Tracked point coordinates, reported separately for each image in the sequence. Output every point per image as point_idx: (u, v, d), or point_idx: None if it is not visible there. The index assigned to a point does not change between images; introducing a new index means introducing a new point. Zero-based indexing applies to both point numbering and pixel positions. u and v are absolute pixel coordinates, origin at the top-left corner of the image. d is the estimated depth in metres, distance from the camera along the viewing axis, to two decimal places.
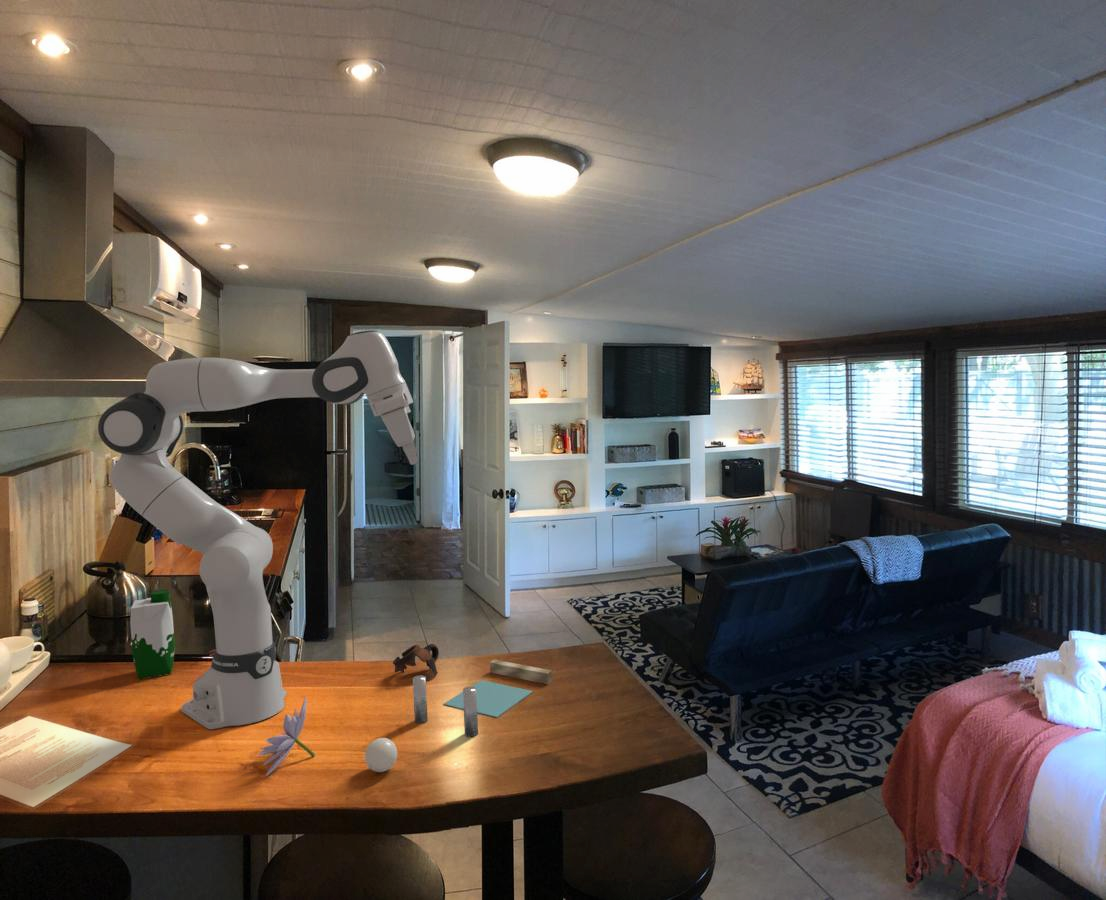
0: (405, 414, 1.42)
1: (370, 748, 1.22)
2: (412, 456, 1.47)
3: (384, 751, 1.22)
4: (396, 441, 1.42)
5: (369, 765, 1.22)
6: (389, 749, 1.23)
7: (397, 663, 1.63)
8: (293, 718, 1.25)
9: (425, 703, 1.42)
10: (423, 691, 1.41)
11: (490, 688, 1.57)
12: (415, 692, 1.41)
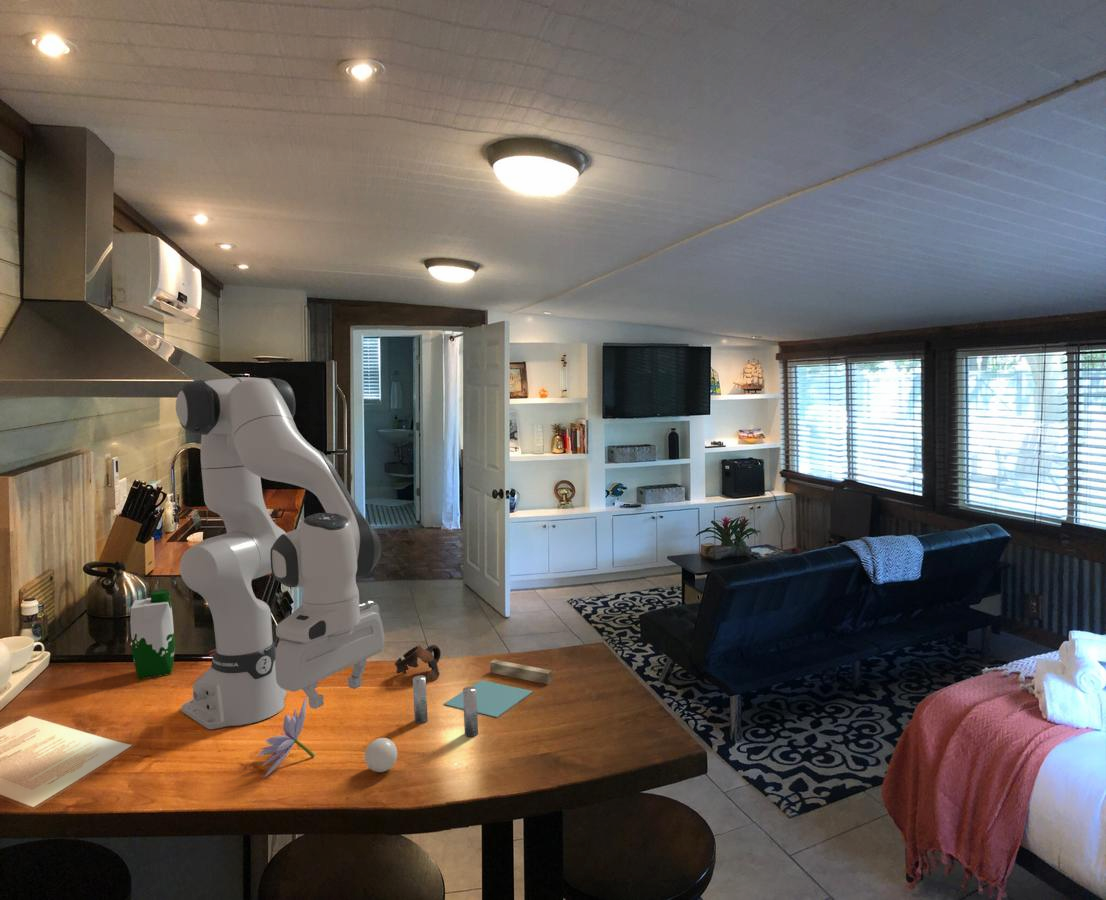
0: (295, 655, 1.05)
1: (370, 748, 1.22)
2: (312, 698, 1.10)
3: (384, 751, 1.22)
4: (277, 682, 1.06)
5: (369, 765, 1.22)
6: (389, 749, 1.23)
7: (399, 664, 1.62)
8: (292, 719, 1.25)
9: (425, 703, 1.42)
10: (423, 691, 1.41)
11: (490, 688, 1.57)
12: (415, 692, 1.41)
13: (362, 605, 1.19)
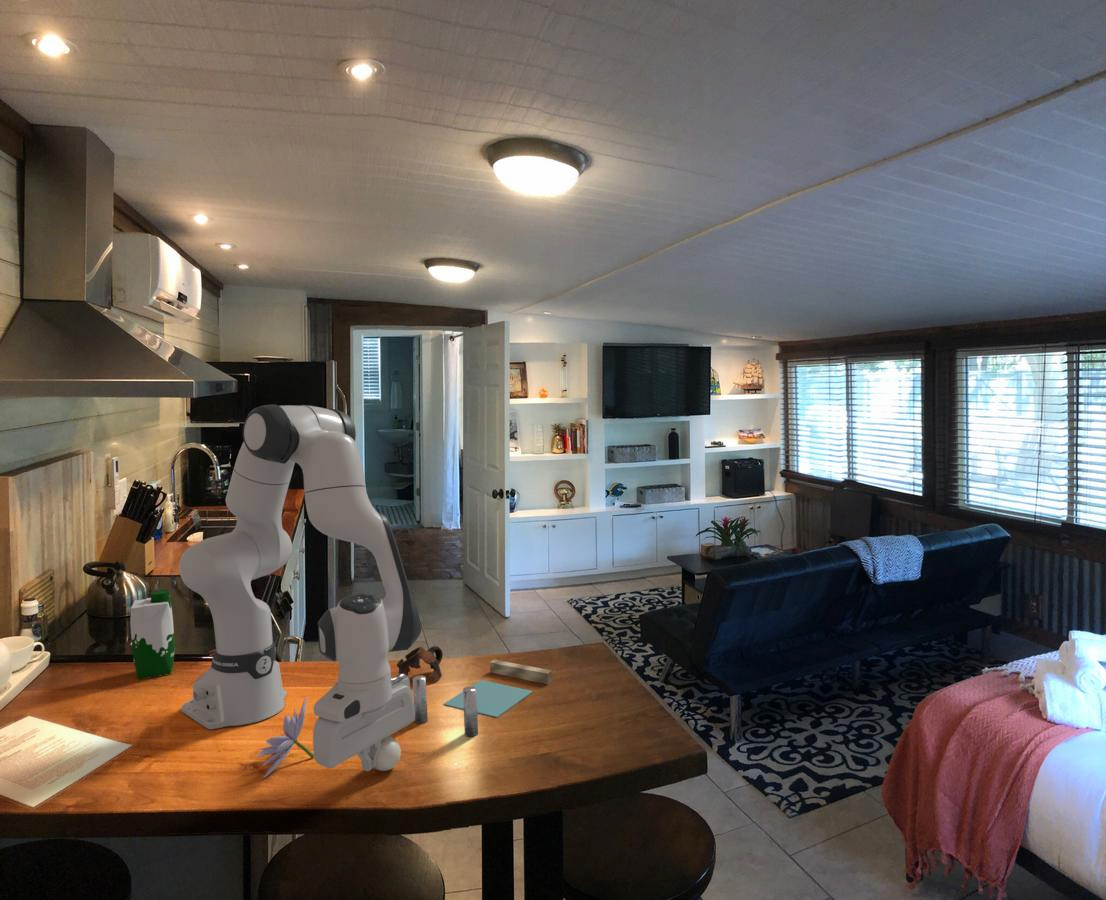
0: (331, 734, 1.12)
1: None
2: (365, 761, 1.20)
3: (390, 748, 1.23)
4: (314, 758, 1.13)
5: None
6: (395, 747, 1.23)
7: (401, 666, 1.61)
8: (292, 719, 1.25)
9: (425, 703, 1.42)
10: (423, 691, 1.41)
11: (490, 688, 1.57)
12: (415, 692, 1.41)
13: (394, 679, 1.26)
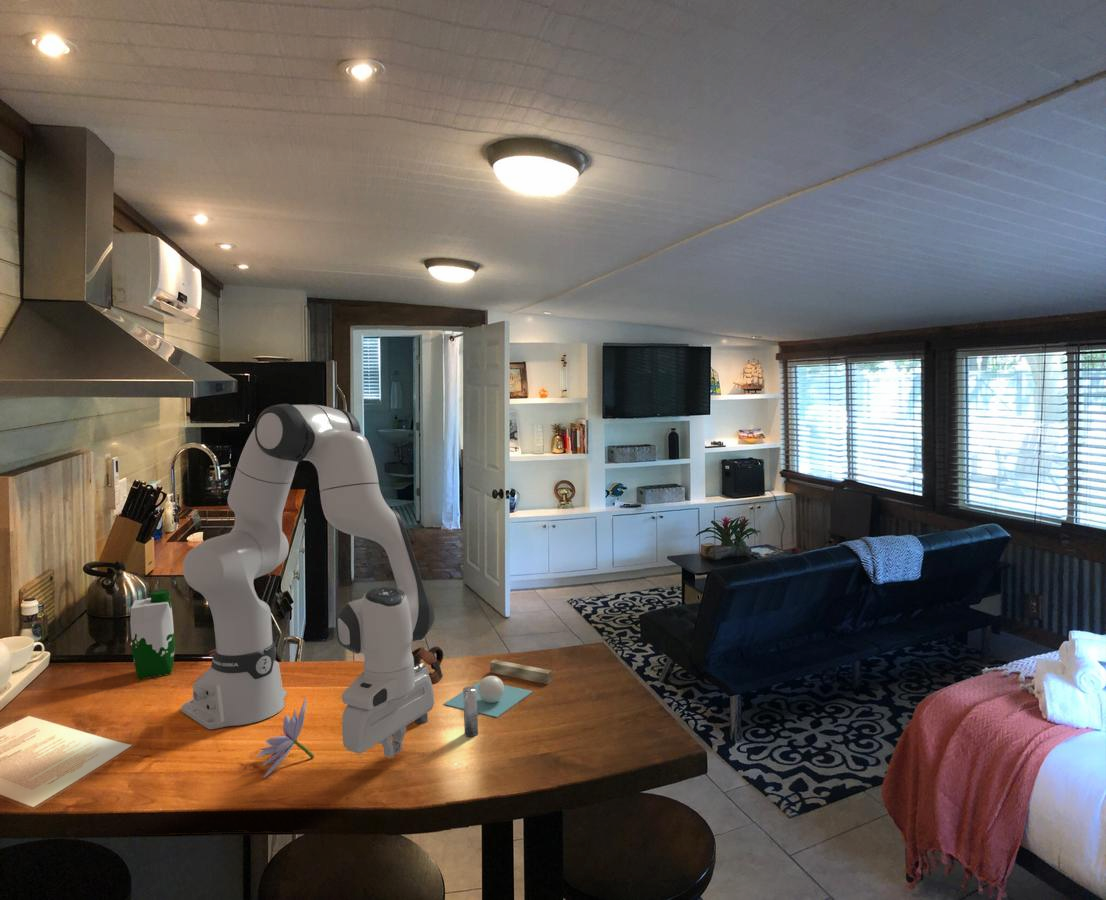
0: (361, 721, 1.17)
1: None
2: (387, 748, 1.25)
3: (495, 698, 1.48)
4: (344, 744, 1.18)
5: None
6: (495, 694, 1.48)
7: None
8: (292, 719, 1.25)
9: None
10: None
11: None
12: None
13: (415, 669, 1.31)
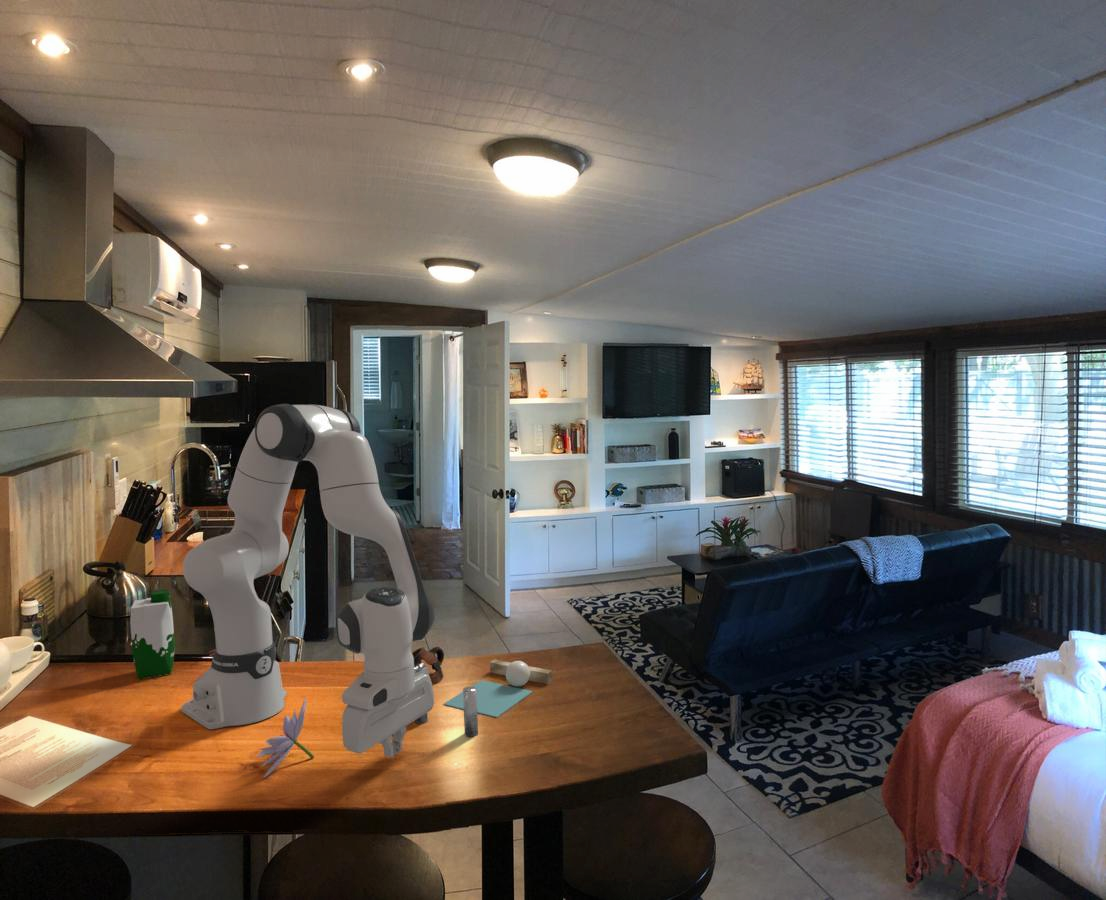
0: (361, 721, 1.17)
1: None
2: (387, 748, 1.25)
3: None
4: (344, 744, 1.18)
5: (518, 661, 1.59)
6: (529, 676, 1.59)
7: None
8: (292, 719, 1.25)
9: None
10: None
11: (490, 688, 1.57)
12: None
13: (415, 669, 1.31)
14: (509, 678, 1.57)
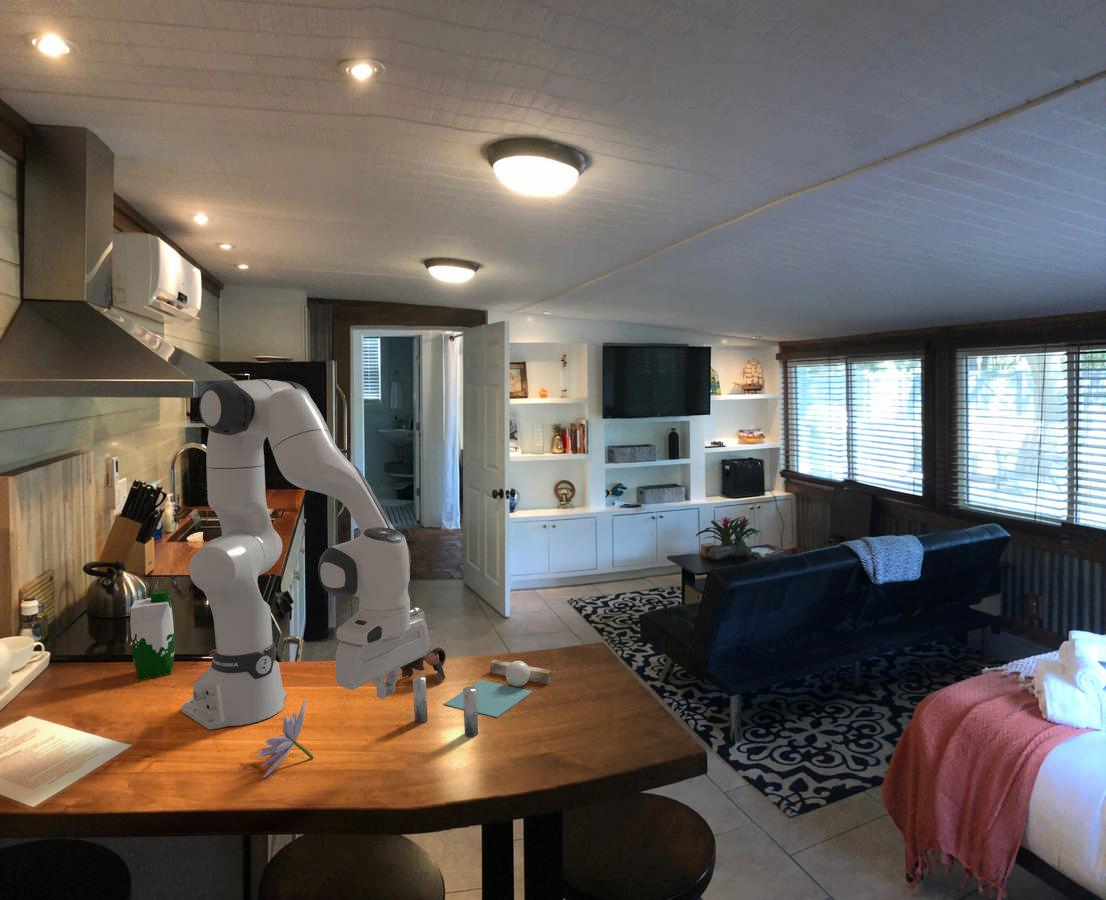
0: (354, 657, 1.16)
1: None
2: (380, 689, 1.24)
3: None
4: (336, 680, 1.17)
5: (518, 661, 1.59)
6: (529, 676, 1.59)
7: (405, 668, 1.60)
8: (291, 720, 1.25)
9: (425, 703, 1.42)
10: (423, 691, 1.41)
11: (490, 688, 1.57)
12: (415, 692, 1.41)
13: (411, 612, 1.30)
14: (509, 678, 1.57)
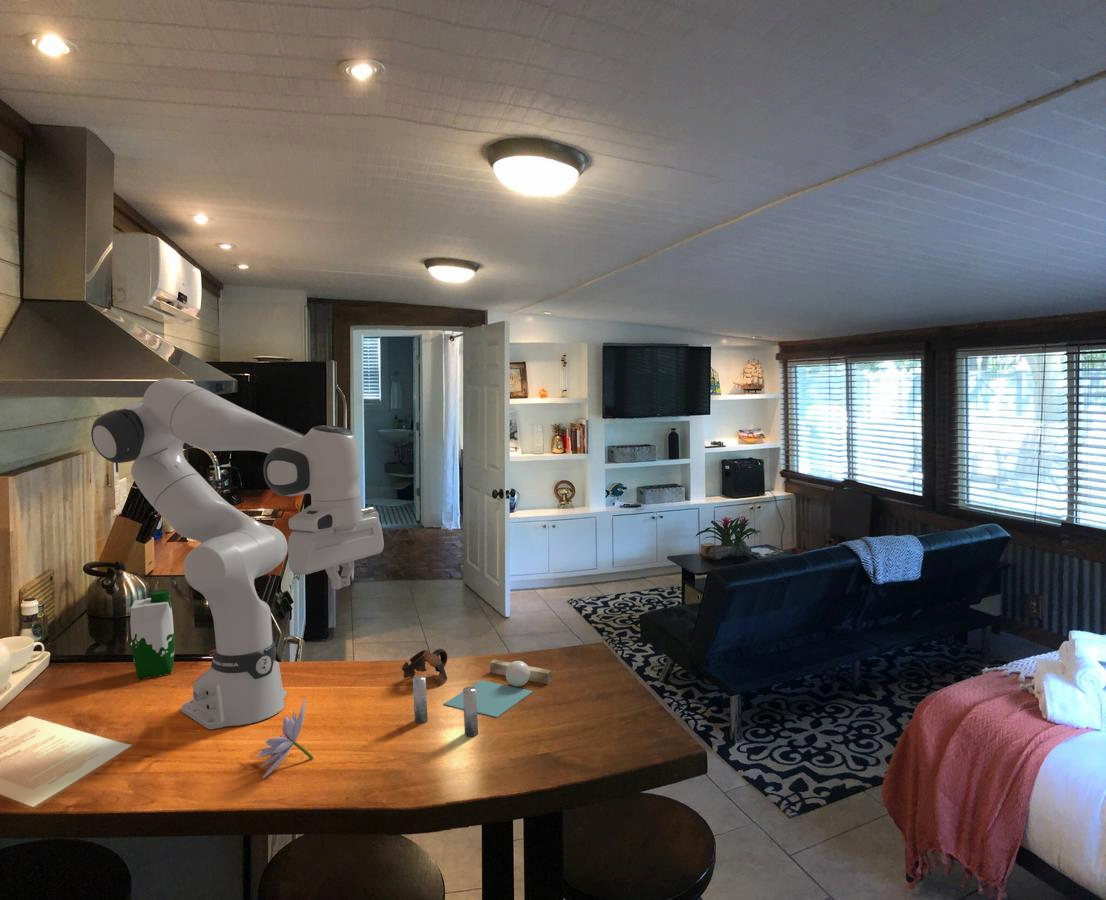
0: (305, 542, 1.20)
1: None
2: (335, 580, 1.28)
3: None
4: (289, 566, 1.21)
5: (518, 661, 1.59)
6: (529, 676, 1.59)
7: (407, 669, 1.59)
8: (291, 720, 1.24)
9: (425, 703, 1.42)
10: (423, 691, 1.41)
11: (490, 688, 1.57)
12: (415, 692, 1.41)
13: (364, 509, 1.34)
14: (509, 678, 1.57)
